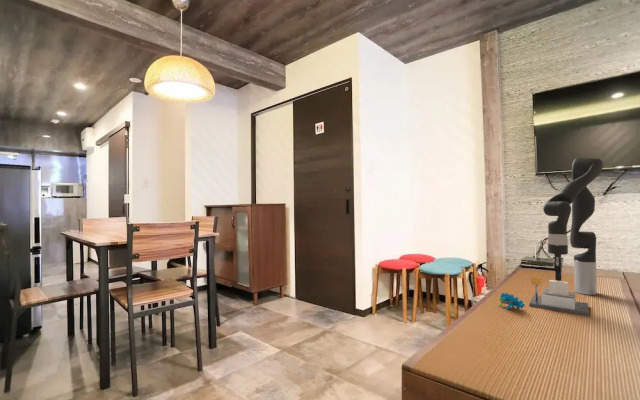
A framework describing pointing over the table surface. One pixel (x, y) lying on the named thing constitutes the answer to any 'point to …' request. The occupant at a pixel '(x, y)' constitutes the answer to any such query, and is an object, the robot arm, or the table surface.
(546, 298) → the rack
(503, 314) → the table surface
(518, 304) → the blue bumpy plastic figure
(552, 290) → the block
